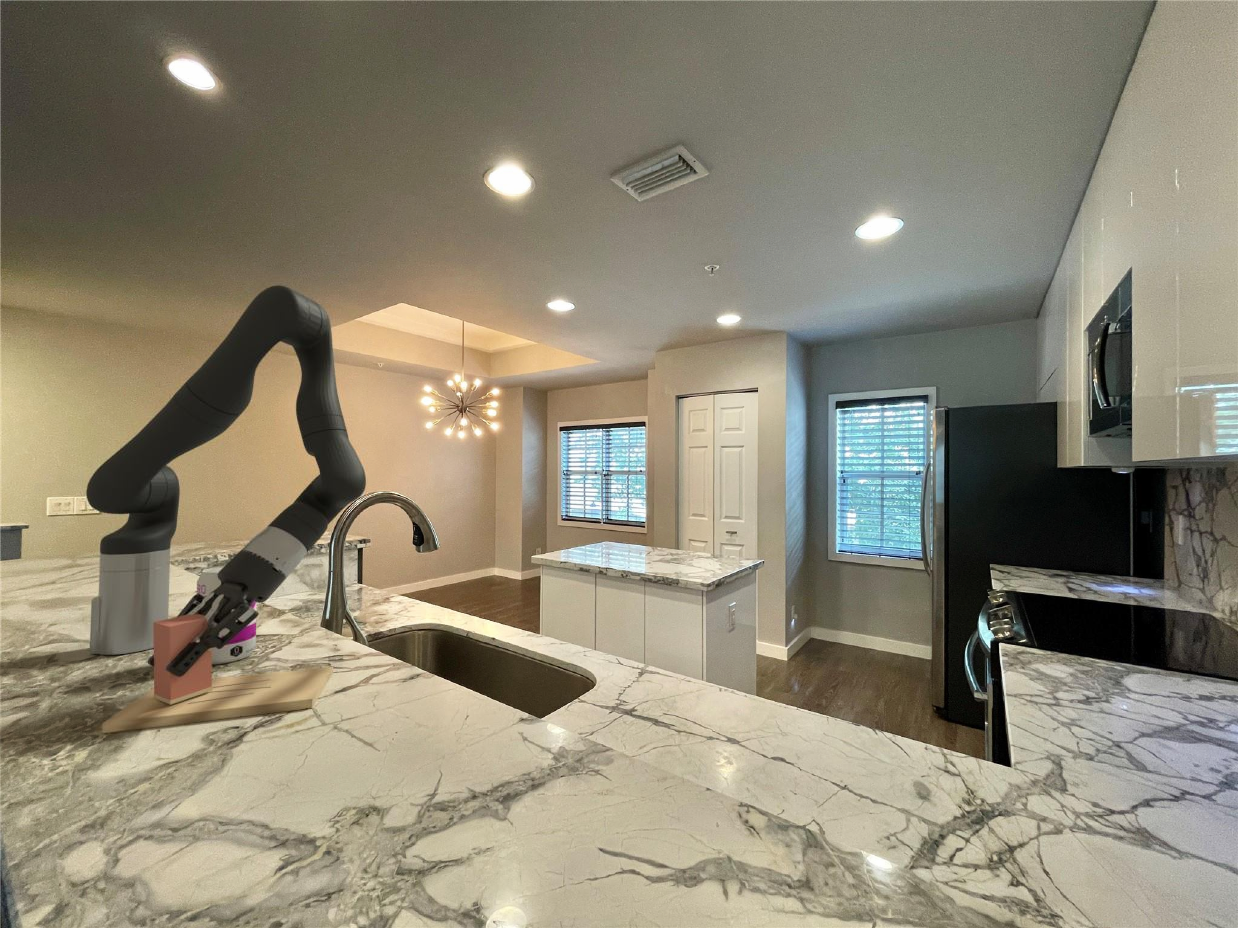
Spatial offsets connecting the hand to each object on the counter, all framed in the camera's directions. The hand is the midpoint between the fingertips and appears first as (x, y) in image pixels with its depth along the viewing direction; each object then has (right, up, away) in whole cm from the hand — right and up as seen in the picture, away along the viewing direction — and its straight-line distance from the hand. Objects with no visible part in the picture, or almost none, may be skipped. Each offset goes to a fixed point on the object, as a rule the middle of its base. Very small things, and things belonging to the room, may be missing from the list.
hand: (163, 669), depth 66 cm
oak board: (+6, -6, +3) cm, 9 cm away
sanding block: (+1, -4, +2) cm, 5 cm away
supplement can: (-7, -6, +20) cm, 22 cm away
